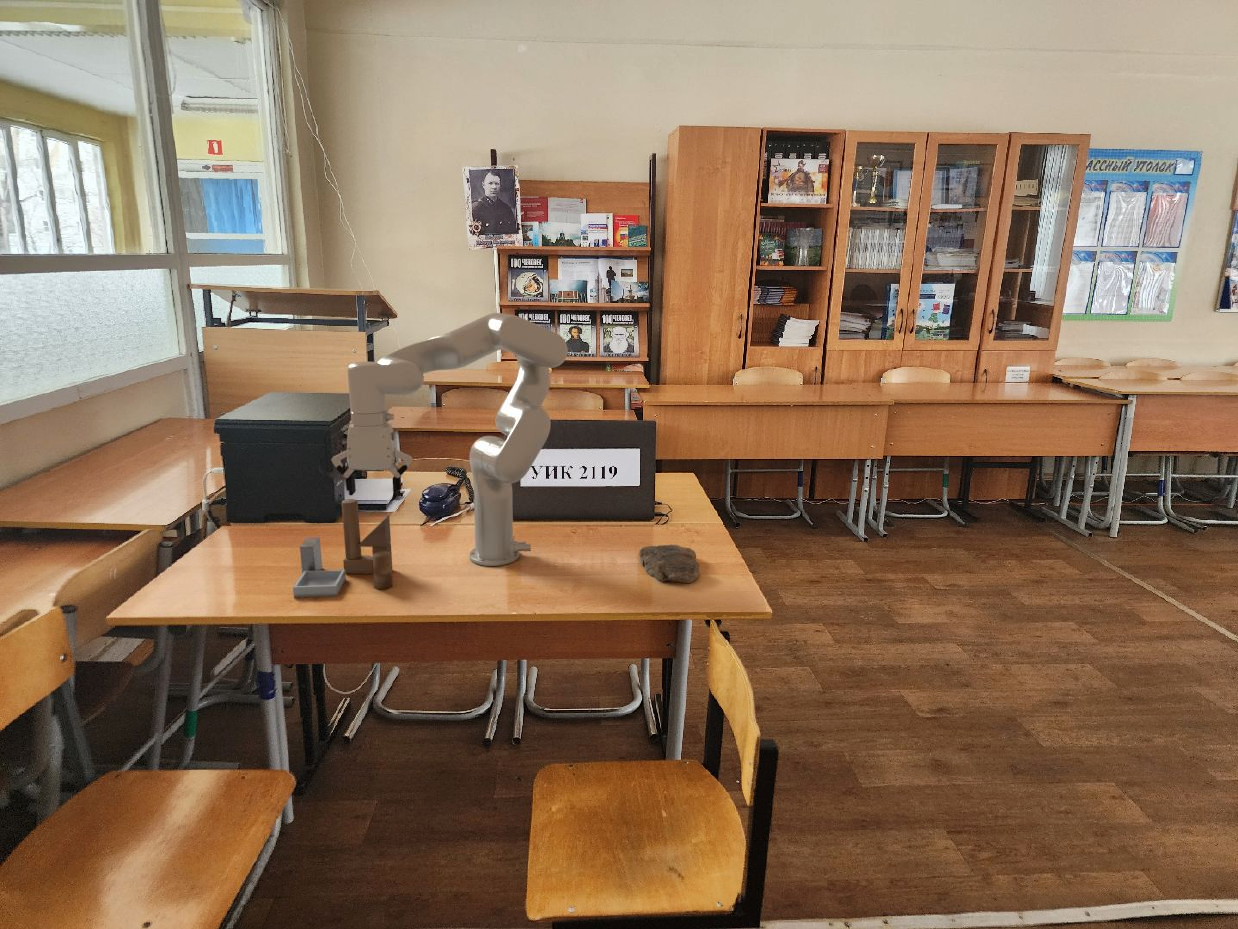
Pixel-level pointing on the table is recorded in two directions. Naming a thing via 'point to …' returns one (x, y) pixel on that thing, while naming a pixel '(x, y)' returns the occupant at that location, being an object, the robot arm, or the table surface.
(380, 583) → the dowel
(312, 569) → the rectangular block
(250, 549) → the table surface
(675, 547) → the grey rock
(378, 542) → the wooden blocks
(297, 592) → the tray
